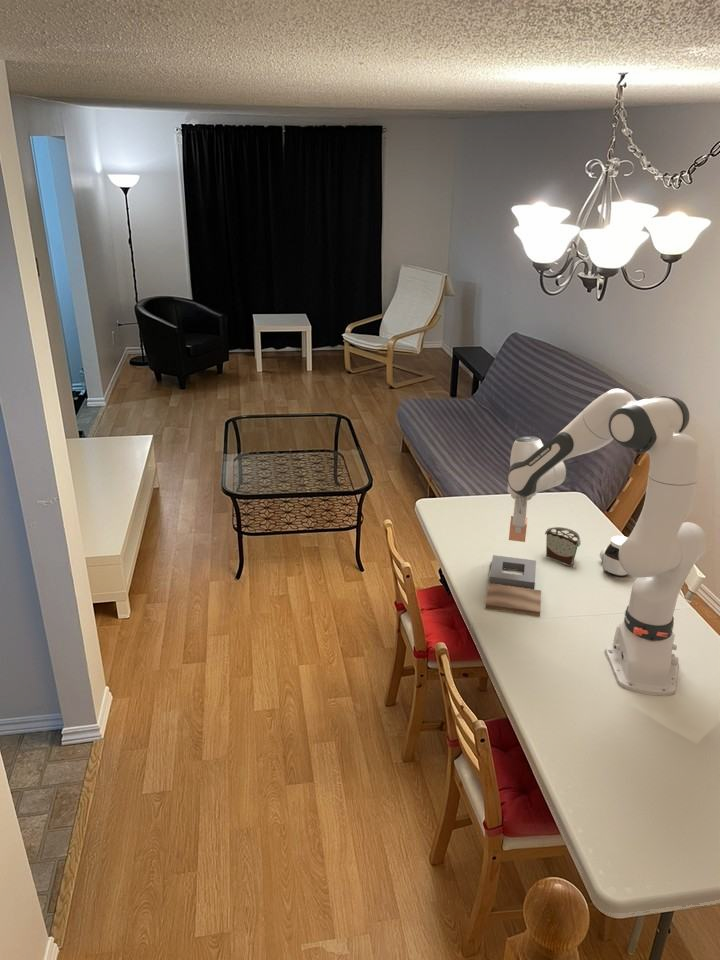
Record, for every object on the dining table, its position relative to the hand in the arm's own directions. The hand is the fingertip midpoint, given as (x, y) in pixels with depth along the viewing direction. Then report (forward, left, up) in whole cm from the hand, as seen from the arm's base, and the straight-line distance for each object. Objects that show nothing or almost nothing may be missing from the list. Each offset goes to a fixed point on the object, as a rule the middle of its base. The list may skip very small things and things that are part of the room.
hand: (518, 527), depth 230 cm
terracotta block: (0, 0, -4) cm, 4 cm away
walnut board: (-15, -1, -18) cm, 23 cm away
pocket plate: (0, 0, -18) cm, 18 cm away
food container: (+16, -16, -18) cm, 29 cm away
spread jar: (+13, -32, -18) cm, 39 cm away
